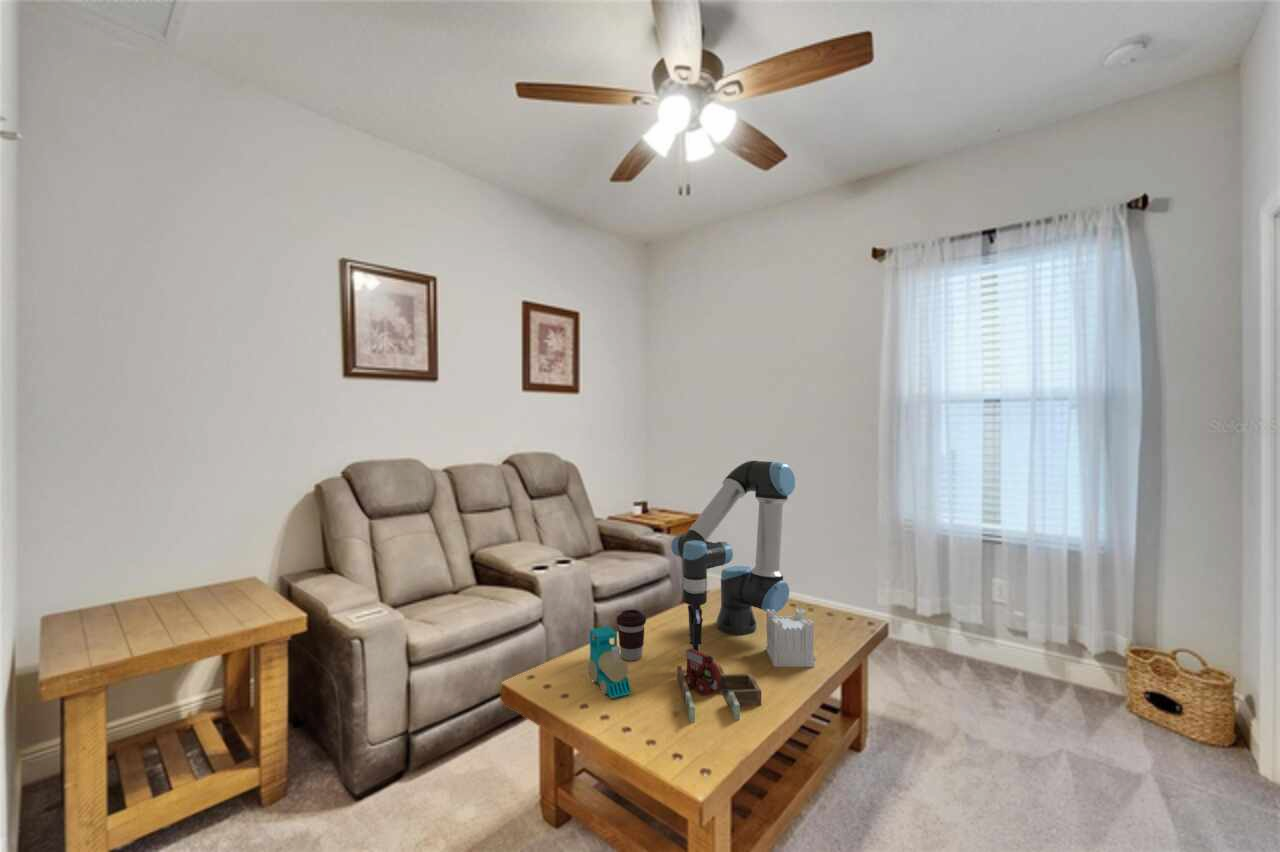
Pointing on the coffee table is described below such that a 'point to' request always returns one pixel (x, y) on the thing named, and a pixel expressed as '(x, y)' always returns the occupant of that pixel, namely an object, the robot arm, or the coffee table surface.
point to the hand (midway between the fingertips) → (695, 662)
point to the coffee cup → (631, 634)
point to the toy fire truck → (701, 672)
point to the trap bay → (742, 689)
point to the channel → (688, 700)
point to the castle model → (790, 640)
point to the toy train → (607, 663)
